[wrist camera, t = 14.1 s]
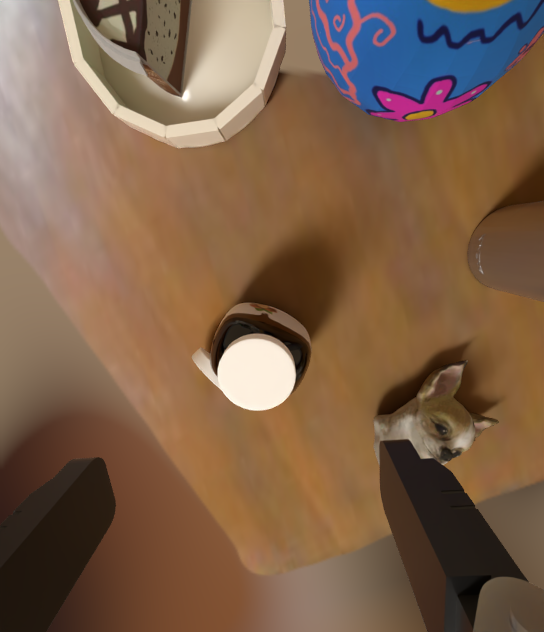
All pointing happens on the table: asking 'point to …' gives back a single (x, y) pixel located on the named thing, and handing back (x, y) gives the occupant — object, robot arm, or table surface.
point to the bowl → (193, 72)
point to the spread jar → (256, 356)
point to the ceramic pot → (421, 50)
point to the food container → (142, 36)
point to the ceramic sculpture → (434, 418)
